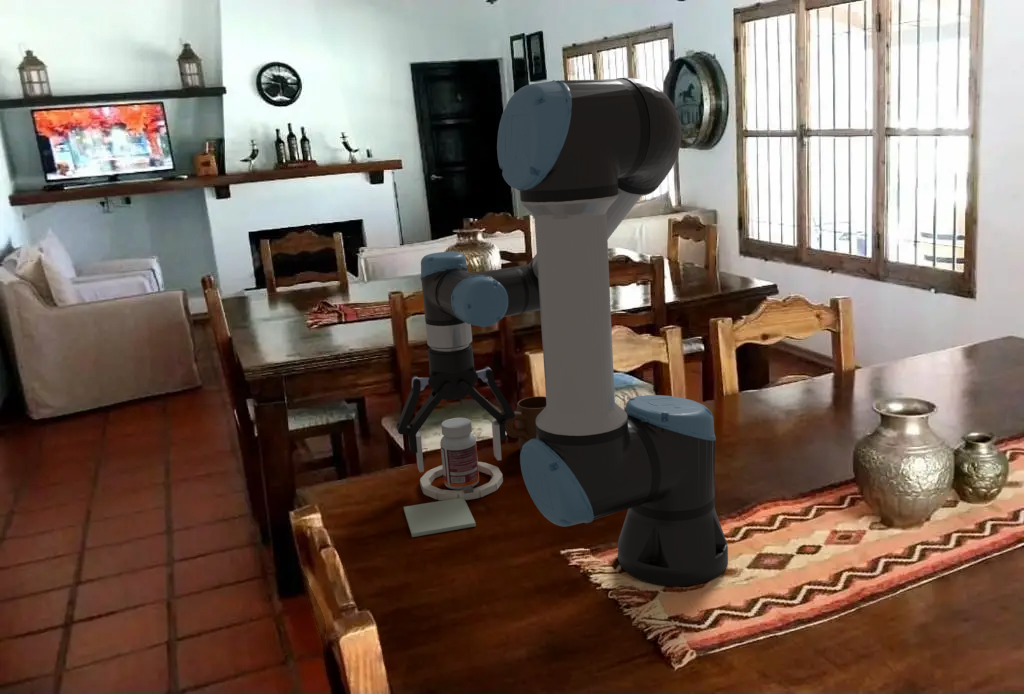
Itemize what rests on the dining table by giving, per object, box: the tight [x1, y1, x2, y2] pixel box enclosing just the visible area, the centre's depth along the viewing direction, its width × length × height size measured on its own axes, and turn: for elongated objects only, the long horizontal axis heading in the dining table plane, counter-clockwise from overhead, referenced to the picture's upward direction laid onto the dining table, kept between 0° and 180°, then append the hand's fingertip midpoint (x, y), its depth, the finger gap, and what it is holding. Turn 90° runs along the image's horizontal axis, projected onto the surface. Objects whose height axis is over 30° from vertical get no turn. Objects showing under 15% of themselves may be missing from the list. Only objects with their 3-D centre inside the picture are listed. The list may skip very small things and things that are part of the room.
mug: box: [505, 395, 546, 451], centre depth 162 cm, size 12×8×9 cm, turn 134°
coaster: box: [403, 497, 477, 538], centre depth 139 cm, size 10×10×1 cm
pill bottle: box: [439, 417, 480, 491], centre depth 150 cm, size 6×6×11 cm
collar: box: [419, 461, 504, 501], centre depth 151 cm, size 14×14×2 cm
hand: (459, 463), depth 150 cm, fingers open, 13 cm apart
